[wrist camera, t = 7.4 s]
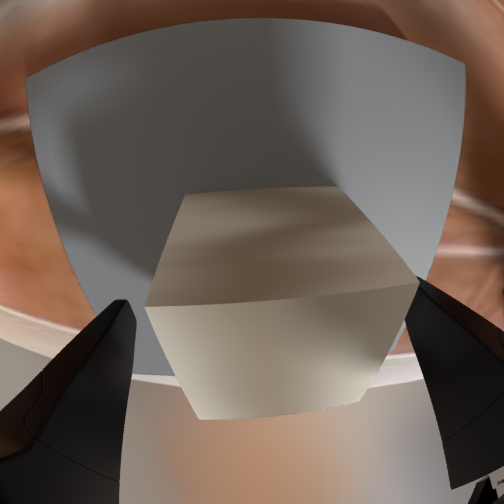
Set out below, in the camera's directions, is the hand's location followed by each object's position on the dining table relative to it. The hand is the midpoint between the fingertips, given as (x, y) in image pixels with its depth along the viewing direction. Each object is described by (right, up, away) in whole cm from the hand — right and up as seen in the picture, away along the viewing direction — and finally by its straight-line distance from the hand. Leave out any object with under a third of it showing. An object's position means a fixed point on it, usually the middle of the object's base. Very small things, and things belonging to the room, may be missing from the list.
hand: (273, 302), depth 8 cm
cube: (0, +1, +2) cm, 2 cm away
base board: (0, +3, +5) cm, 6 cm away
